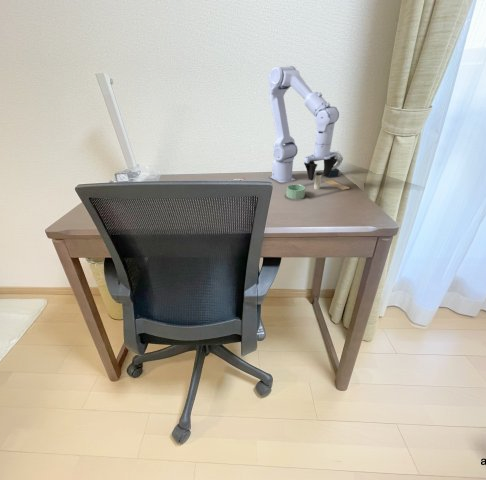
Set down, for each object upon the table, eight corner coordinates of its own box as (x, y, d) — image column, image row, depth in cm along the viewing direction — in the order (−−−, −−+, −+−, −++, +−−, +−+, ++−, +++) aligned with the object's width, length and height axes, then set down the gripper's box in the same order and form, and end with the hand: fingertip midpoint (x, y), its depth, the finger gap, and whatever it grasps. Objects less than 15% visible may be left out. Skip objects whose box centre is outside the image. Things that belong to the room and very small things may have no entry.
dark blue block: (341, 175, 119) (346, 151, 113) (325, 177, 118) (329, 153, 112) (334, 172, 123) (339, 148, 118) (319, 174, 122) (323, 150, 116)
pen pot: (282, 195, 103) (283, 186, 101) (297, 191, 106) (298, 183, 103) (292, 201, 98) (293, 192, 96) (308, 197, 100) (309, 188, 98)
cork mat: (291, 188, 109) (291, 187, 109) (329, 180, 115) (329, 179, 115) (309, 198, 100) (310, 197, 100) (349, 188, 106) (350, 187, 105)
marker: (312, 188, 107) (314, 171, 103) (317, 187, 108) (319, 170, 104) (316, 190, 105) (318, 173, 102) (320, 189, 106) (323, 172, 102)
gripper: (314, 147, 92) (309, 184, 99) (346, 142, 96) (339, 177, 103) (302, 144, 97) (298, 178, 105) (332, 139, 102) (327, 173, 109)
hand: (318, 178), depth 104 cm, fingers open, 7 cm apart
